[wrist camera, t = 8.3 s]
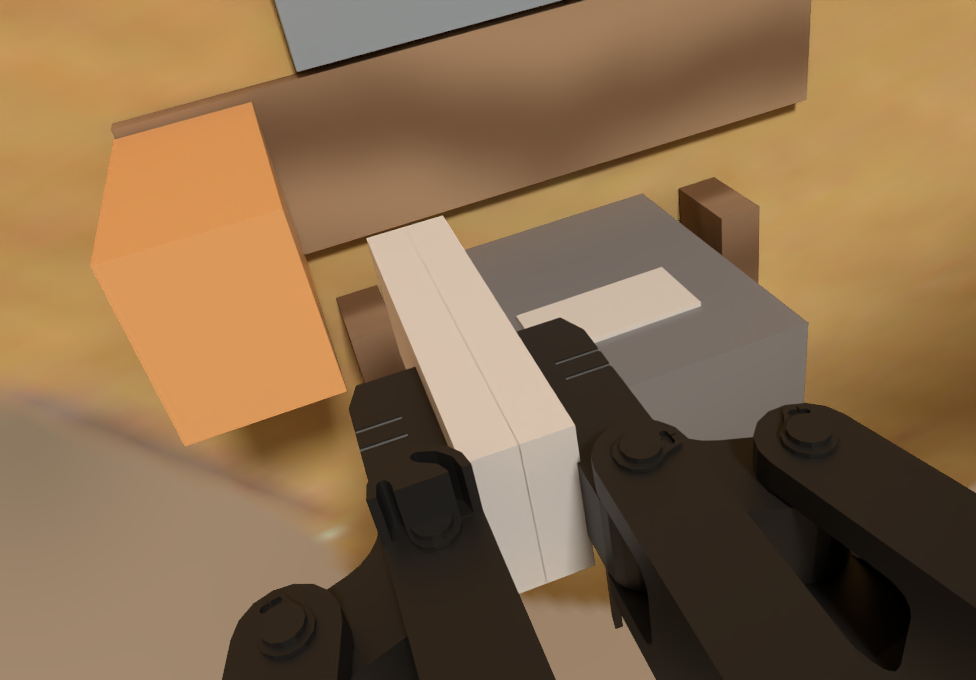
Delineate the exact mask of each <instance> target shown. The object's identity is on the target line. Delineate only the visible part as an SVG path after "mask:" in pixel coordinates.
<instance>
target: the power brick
mask: <svg viewBox="0 0 976 680" xmlns="http://www.w3.org/2000/svg"><path fill="white" fill-rule="evenodd" d="M465 252H466V253H467V255H468V256H469V258H470V259H471V261H472V263H473V264H474V266H475V267H476V269H477V271H478V272H479V274H480V275H481V277H482V278H483V280H484V282H485V283H486V285H487V286H488V288H489V290H490V291H491V293H492V294H493V296H494V297H495V299H496V301H497V302H498V304H499V305H500V307H501V309H502V310H503V312H504V313H505V315H506V317H507V318H508V320H509V321H510V323H511V324H512V326H513V328H514V329H515V331H520V330H523V329H526V328H529V327H532V326H535V325H538V324H541V323H544V322H547V321H550V320H553V319H557V318H560V317H561V318H563V319H565V320H567V321H569V322H570V323H572V324H574V325H576V326H578V327H580V328H582V329H584V330H585V331H586V333H587V334H588V335H589V337H590V338H591V339H592V341H593V342H594V343H595V344H596V346H597V347H598V350H599V351H601V352H602V354H603V355H604V356H605V358H606V359H607V360H608V361H609V364H610V366H612V367H613V368H614V369H615V371H616V372H617V373H618V375H619V376H620V377H621V378H622V380H623V381H624V382H625V384H626V385H627V386H628V388H629V389H630V390H631V392H632V393H633V394H634V395H635V397H636V398H637V399H638V401H639V402H640V403H641V405H642V406H643V407H644V409H645V410H646V411H647V412H648V414H649V415H650V416H651V418H652V419H653V420H658V421H660V422H663V423H666V424H669V425H671V426H674V427H676V428H677V429H678V430H679V431H680V432H682V433H683V434H684V435H685V436H687V437H688V439H695V440H701V441H702V440H727V439H738V438H749V437H753V434H754V431H755V428H756V424H757V422H758V421H759V420H760V419H761V418H762V417H763V416H764V415H765V414H766V413H767V412H768V411H771V410H773V409H776V408H778V407H781V406H783V405H789V404H800V403H804V388H805V371H806V354H807V337H808V322H807V321H805V320H804V319H803V318H802V317H800V316H799V315H798V314H796V313H795V312H794V311H793V310H791V309H790V308H789V307H787V306H786V305H785V304H784V303H782V302H781V301H780V300H778V299H777V298H776V297H775V296H773V295H772V294H771V293H769V292H768V291H767V290H766V289H764V288H763V287H762V286H760V285H759V284H758V283H757V282H755V281H754V280H753V279H751V278H750V277H749V276H748V275H746V274H745V273H744V272H742V271H741V270H740V269H739V268H737V267H736V266H735V265H733V264H732V263H731V262H730V261H728V260H727V259H726V258H724V257H723V256H722V255H721V254H719V253H718V252H717V251H715V250H714V249H713V248H712V247H710V246H709V245H708V244H707V243H705V242H704V241H703V240H701V239H700V238H699V237H698V236H696V235H695V234H694V233H692V232H691V231H690V230H689V229H687V228H686V227H685V226H683V225H682V224H681V223H680V222H678V221H677V220H676V219H674V218H673V217H672V216H671V215H669V214H668V213H667V212H665V211H664V210H663V209H662V208H660V207H659V206H658V205H656V204H655V203H654V202H653V201H651V200H650V199H649V198H647V197H646V196H645V195H644V194H639V195H636V196H633V197H630V198H627V199H623V200H620V201H617V202H614V203H611V204H608V205H605V206H601V207H598V208H595V209H592V210H589V211H586V212H583V213H579V214H576V215H573V216H570V217H567V218H564V219H561V220H558V221H554V222H551V223H548V224H545V225H542V226H539V227H536V228H532V229H529V230H526V231H523V232H520V233H517V234H514V235H510V236H507V237H504V238H501V239H498V240H495V241H492V242H488V243H485V244H482V245H479V246H476V247H473V248H470V249H466V250H465Z"/></svg>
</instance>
